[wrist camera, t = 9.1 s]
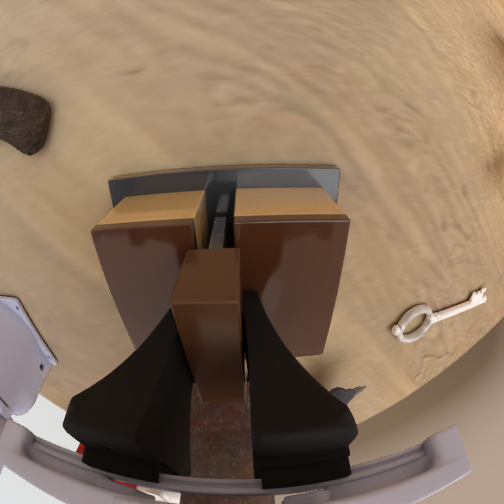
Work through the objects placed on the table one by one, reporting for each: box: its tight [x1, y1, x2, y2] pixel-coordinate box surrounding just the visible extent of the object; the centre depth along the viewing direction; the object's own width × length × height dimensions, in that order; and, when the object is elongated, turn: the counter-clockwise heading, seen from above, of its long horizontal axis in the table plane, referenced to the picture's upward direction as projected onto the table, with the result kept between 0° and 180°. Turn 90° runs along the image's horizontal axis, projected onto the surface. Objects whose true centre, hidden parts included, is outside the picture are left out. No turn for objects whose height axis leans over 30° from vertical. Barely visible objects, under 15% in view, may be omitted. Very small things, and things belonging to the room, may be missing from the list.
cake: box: [91, 164, 350, 357], centre depth 14 cm, size 10×12×5 cm
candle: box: [179, 381, 275, 504], centre depth 15 cm, size 8×7×20 cm
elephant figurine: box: [136, 486, 180, 504], centre depth 22 cm, size 7×12×6 cm
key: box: [392, 287, 487, 343], centre depth 20 cm, size 12×1×4 cm
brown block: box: [170, 217, 247, 402], centre depth 12 cm, size 6×2×7 cm, turn 1°
